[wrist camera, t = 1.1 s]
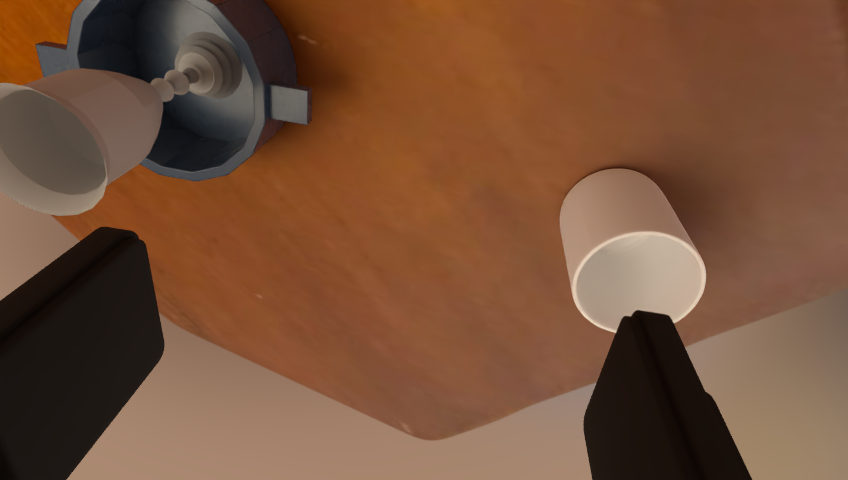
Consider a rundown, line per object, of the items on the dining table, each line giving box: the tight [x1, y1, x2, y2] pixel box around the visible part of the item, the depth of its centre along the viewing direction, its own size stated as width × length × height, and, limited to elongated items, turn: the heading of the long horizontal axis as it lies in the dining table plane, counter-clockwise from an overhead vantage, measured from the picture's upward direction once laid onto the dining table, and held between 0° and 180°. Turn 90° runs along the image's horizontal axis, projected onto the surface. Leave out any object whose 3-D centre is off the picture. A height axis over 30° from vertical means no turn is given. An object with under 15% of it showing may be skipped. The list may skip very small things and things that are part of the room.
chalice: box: [0, 31, 242, 216], centre depth 33 cm, size 7×7×18 cm
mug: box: [560, 169, 706, 333], centre depth 39 cm, size 12×8×10 cm
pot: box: [36, 0, 312, 181], centre depth 38 cm, size 14×19×6 cm
